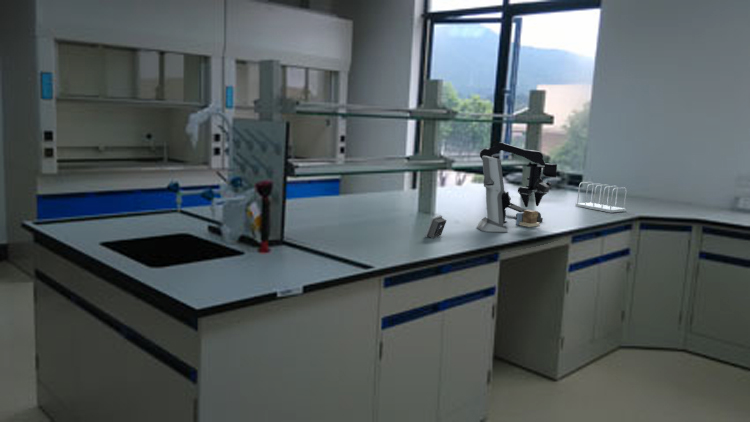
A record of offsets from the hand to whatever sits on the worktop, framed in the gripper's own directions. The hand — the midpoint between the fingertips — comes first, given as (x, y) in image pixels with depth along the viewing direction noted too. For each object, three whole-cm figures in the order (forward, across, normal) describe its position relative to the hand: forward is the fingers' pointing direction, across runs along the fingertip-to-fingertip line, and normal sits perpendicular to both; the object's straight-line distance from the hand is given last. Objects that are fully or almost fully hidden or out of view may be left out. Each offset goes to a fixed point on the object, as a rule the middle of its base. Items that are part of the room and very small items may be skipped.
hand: (531, 206), depth 304 cm
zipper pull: (+10, +13, +15) cm, 22 cm away
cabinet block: (+8, 0, 0) cm, 8 cm away
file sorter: (+10, +96, +15) cm, 97 cm away
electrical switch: (+10, -67, +2) cm, 68 cm away
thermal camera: (+10, -29, +1) cm, 31 cm away
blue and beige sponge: (+10, 0, +1) cm, 10 cm away
